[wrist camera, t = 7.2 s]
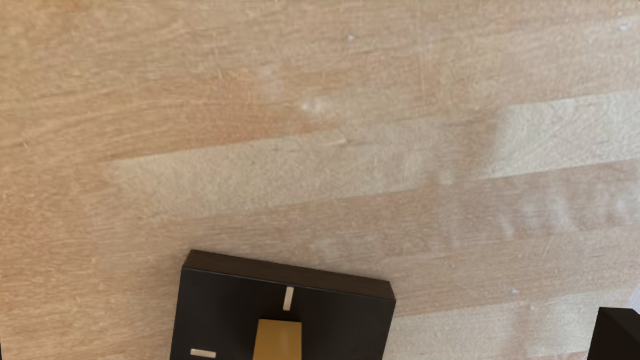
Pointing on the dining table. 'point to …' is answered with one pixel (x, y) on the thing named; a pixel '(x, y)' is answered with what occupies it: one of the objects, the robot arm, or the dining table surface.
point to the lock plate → (277, 309)
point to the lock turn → (277, 340)
